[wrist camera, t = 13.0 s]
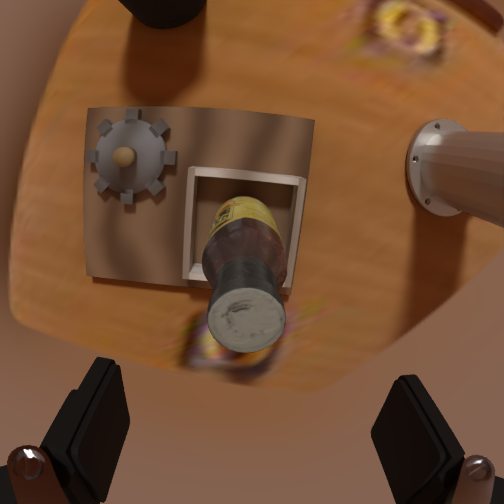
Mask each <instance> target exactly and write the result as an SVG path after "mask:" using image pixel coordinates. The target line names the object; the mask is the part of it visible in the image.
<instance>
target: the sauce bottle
mask: <svg viewBox="0 0 504 504" xmlns="http://www.w3.org/2000/svg"><path fill="white" fill-rule="evenodd" d="M202 269H203V273H204V275H205V277H206V279H207V280H208V282H209V283H210V285H211V286H212V288H213V289H214V292H213V294H212V296H211V298H210V300H209V305H208V313H207V323H208V328H209V330H210V332H211V334H212V336H213V338H214V339H215V340H216V341H218V342H219V343H220V344H221V345H223V346H224V347H226V348H227V349H229V350H232V351H236V352H242V353H252V352H256V351H261V350H263V349H265V348H267V347H270V346H271V345H272V344H273V343H275V342H276V341H277V339H278V338H279V337H280V336H281V334H282V332H283V330H284V327H285V320H286V315H285V309H284V304H283V302H282V298H281V296H280V294H279V291H280V289H281V288H282V286H283V284H284V282H285V280H286V277H287V258H286V254H285V250H284V245H283V242H282V239H281V237H280V234H279V231H278V229H277V226H276V223H275V221H274V218H273V216H272V213H271V211H270V210H269V209H268V208H267V206H266V205H265V204H264V203H262V202H261V201H259V200H258V199H256V198H254V197H251V196H247V195H246V196H245V195H241V196H237V197H234V198H232V199H229V200H228V201H226V202H225V203H224V204H223V205H222V206H221V207H220V208H219V209H218V211H217V213H216V215H215V218H214V221H213V223H212V226H211V229H210V232H209V235H208V238H207V242H206V244H205V247H204V251H203V255H202Z"/></svg>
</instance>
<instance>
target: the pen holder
mask: <svg viewBox="0 0 504 504" xmlns="http://www.w3.org/2000/svg"><path fill="white" fill-rule="evenodd" d="M119 1H120V2H121V3H122V4H123V5H124V6H125V7H126V8H127V9H128V10H129V11H130V12H131V13H132V14H133V15H134V16H135V17H136V18H137V19H138V20H139V21H141V22H142V23H143V24H145V25H147V26H149V27H152V28H158V29H167V28H173V27H177V26H180V25H182V24H184V23H186V22H188V21H190V20H191V19H193V18H194V17H195V16H196V15H197V14H198V13H199V12H200V11H201V9H202V8H203V6H204V4H205V1H206V0H119Z"/></svg>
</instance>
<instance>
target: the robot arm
mask: <svg viewBox="0 0 504 504" xmlns="http://www.w3.org/2000/svg"><path fill="white" fill-rule="evenodd" d="M413 158H414V159H413ZM406 171H407V178H408V182H409V185H410V189H411V191H412V193H413V195H414V197H415V198H416V200H417V201H418V202H419V204H420V205H421V206H422V207H423V208H424V209H426V210H428V211H429V212H431V213H433V214H436V215H438V216H443V217H449V216H454V215H457V214H459V213H461V212H465V213H468V214H470V215H473V216H475V217H478V218H481V219H483V220H486V221H488V222H490V223H493V224H495V225H498V226H500V227H503V228H504V133H501V132H476V131H468V130H467V129H466V128H465V127H464V126H462V125H461V124H459V123H457V122H456V121H453V120H449V119H438V120H433V121H430V122H428V123H426V124H425V125H423V126H422V127H421V128H420V129H419V130H418V131H417V132H416V134H415V135H414V137H413V139H412V141H411V143H410V146H409V149H408V154H407V160H406ZM129 425H130V417H129V412H128V407H127V402H126V397H125V392H124V386H123V381H122V375H121V369H120V366H119V365H116V363H115V361H114V360H112V359H107V358H102V357H97V358H96V359H95V361H94V363H93V364H92V366H91V367H90V369H89V371H88V373H87V374H86V376H85V378H84V379H83V381H82V383H81V384H80V386H79V388H78V390H75V389H74V390H72V391H71V392H70V393H69V395H68V396H67V398H66V400H65V402H64V403H63V405H62V407H61V409H60V410H59V412H58V414H57V416H56V417H55V419H54V421H53V423H52V425H51V427H50V428H49V430H48V432H47V434H46V436H45V437H44V439H43V441H42V443H41V445H40V447H39V448H38V447H36V446H32V445H24V446H20V447H17V448H16V449H14V450H13V451H12V452H11V453H10V455H9V456H8V460H7V465H5V466H1V467H0V504H100V502H103V503H104V502H105V501H106V498H107V495H108V492H109V488H110V484H111V482H112V478H113V475H114V472H115V469H116V466H117V462H118V459H119V456H120V453H121V450H122V447H123V444H124V441H125V438H126V435H127V432H128V429H129ZM371 438H372V440H373V443H374V445H375V448H376V450H377V453H378V456H379V459H380V461H381V464H382V467H383V469H384V472H385V475H386V477H387V480H388V483H389V486H390V488H391V491H392V494H393V497H394V499H395V502H396V504H504V479H503V478H500V477H497V476H495V469H494V466H493V464H492V463H491V461H490V460H489V459H487V458H486V457H484V456H481V455H471V456H469V457H467V458H466V459H465V458H464V454H465V452H464V450H463V449H462V447H461V446H460V444H459V442H458V440H457V438H456V437H455V435H454V433H453V432H452V430H451V428H450V427H449V425H448V424H447V422H446V420H445V419H444V417H443V415H442V414H441V412H440V411H439V409H438V407H437V406H436V404H435V403H434V401H433V400H432V398H431V396H430V395H429V394H428V392H427V390H426V389H425V388H424V386H423V384H422V383H421V381H420V380H419V378H418V377H417V376H416V375H414V374H413V375H402V376H400V377H399V378H398V380H395V381H394V383H393V385H392V388H391V390H390V392H389V394H388V396H387V399H386V401H385V403H384V405H383V407H382V409H381V411H380V413H379V415H378V417H377V419H376V421H375V423H374V425H373V427H372V429H371Z"/></svg>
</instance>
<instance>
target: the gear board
mask: <svg viewBox="0 0 504 504" xmlns="http://www.w3.org/2000/svg"><path fill="white" fill-rule="evenodd" d="M314 122H315V120H312V119H306V118H299V117H292V116H285V115H277V114H269V113H260V112H251V111H241V110H229V109H215V108H198V107H170V106H129V107H101V108H88V113H87V123H86V135H85V151H84V177H83V217H84V243H85V259H86V272H87V276H93V277H101V278H109V279H118V280H127V281H135V282H144V283H154V284H163V285H173V286H183V287H194V288H205V289H213V288H212V286H211V285H210V283H209V282H208V280H207V279H206V277H205V275H204V273H203V269H202V255H203V251H204V247H205V244H206V242H207V238H208V235H209V232H210V229H211V226H212V223H213V221H214V218H215V215H216V213H217V211H218V209H219V208H220V207H221V206H222V205H223V204H224V203H225V202H226V201H228V200H229V199H232V198H234V197H237V196H241V195H245V196H246V195H247V196H251V197H254V198H256V199H258V200H259V201H261V202H262V203H264V204H265V205H266V206H267V208H268V209H269V210H270V211H271V213H272V216H273V218H274V221H275V223H276V226H277V229H278V231H279V234H280V237H281V239H282V242H283V245H284V250H285V254H286V258H287V277H286V280H285V282H284V284H283V286H282V288H281V289H280V291H279V294H280V295H291V290H292V284H293V278H294V271H295V265H296V259H297V252H298V246H299V239H300V232H301V225H302V218H303V211H304V204H305V196H306V189H307V181H308V173H309V165H310V157H311V149H312V140H313V131H314Z"/></svg>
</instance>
